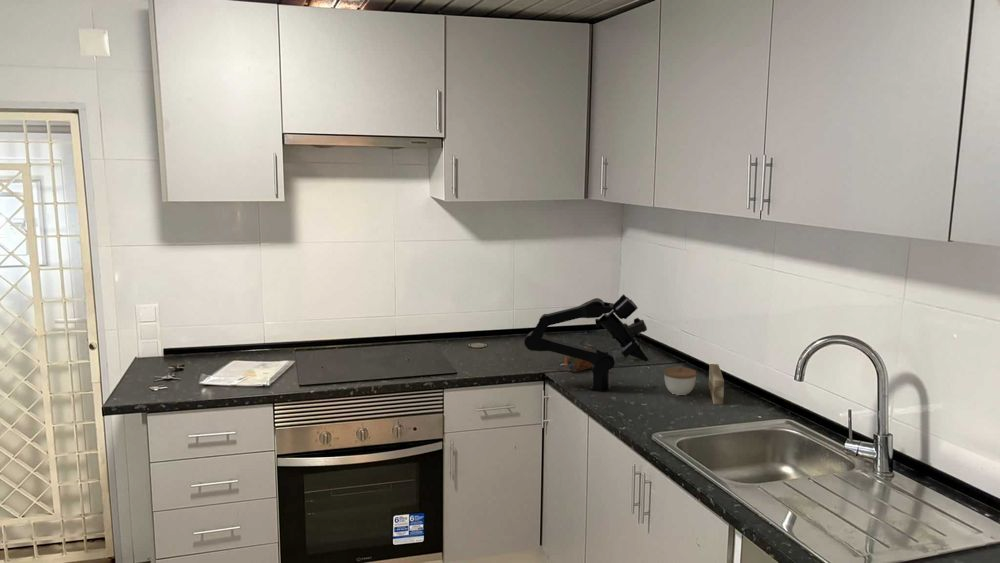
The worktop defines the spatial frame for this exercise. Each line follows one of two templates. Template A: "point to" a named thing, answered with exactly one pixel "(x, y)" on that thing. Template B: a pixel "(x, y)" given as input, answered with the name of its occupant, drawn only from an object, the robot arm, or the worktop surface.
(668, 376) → the lidded jar
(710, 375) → the birch board
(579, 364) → the tin
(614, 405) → the worktop surface
